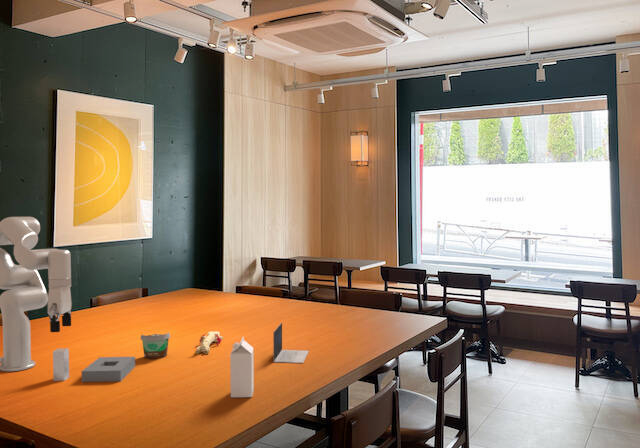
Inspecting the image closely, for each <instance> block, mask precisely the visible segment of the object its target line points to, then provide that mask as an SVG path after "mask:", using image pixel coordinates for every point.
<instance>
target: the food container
mask: <svg viewBox="0 0 640 448" xmlns="http://www.w3.org/2000/svg"><path fill="white" fill-rule="evenodd" d="M170 338H171V334H170V332H167V333H164V334H159V333H155V334H150V335H148V334H147V335H144V334H141V335H140V340H141V341H142V348H143V356H144V358H145V359H147V360H159V359H163V358H166V357H167V355H168V350H169V349H168V348H169V339H170Z"/></svg>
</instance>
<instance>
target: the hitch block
mask: <svg viewBox="0 0 640 448" xmlns="http://www.w3.org/2000/svg"><path fill="white" fill-rule="evenodd" d="M135 367H136V357H135V356H101V357H98V358H97V359H95V360H94V361H93V362H91V363H90V364H89V365H88V366H87V367H85V368H84V369H83V370H82V371H81V382H82V383H100V382H104V383H105V382H107V383H108V382H122V381H123V380H124V378H126V376H127V375H129V374H130V372H131V371H133V369H134V368H135Z"/></svg>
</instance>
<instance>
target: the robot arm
mask: <svg viewBox="0 0 640 448" xmlns="http://www.w3.org/2000/svg"><path fill="white" fill-rule="evenodd" d="M40 232H41V224H40V222H39V221H38V219H37V218H35V217H33V216H9V217H5V218H3V219H2V220H0V246H7V245H13V256H14V258H15V261H16V262H17V263H18V264H15V263H14V261H13V259H12V257H11V255H10V254H9V253H8V252H7V251H6V250H5V249H3V248H2V247H0V290H5V291H3V292H2V293H1V294H0V311H1V319H2V348H3V350H2V351H3V355H2V356H0V371H1V372H7V373H8V372H20V371H24V370H29V369H31V368H33V367H34V366H36V361H35V360H33V359H32V354H31V353H32V351H31V350H32V348H31V339H32V338H31V337H32V336H31V322H30V319H29V317H28V316H27V315H26V314H25V312H28V311H34V310H38V309H43V308H44V307H45V306H47V314H48V318H49V325H50V326H49V327H50V333H59V332H61V327H71V326H72V310H73V309H72V305H73V302H72V293H71V287H72V266H71V265H72V263H71V259H72V258H71V255H72V254H71V251H69V250H68V249H58V248H39V249H33V248H35V247H36V245H37V244H38V241H39V237H38V235H39V233H40ZM38 270H47V273H48V275H47V276H48V277H47V278H48V292H47V289H46V287H45V284H44V283H43V282H44V281H43V279H42V277H41V275H40V273H39V271H38ZM60 317H61V321H60Z"/></svg>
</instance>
